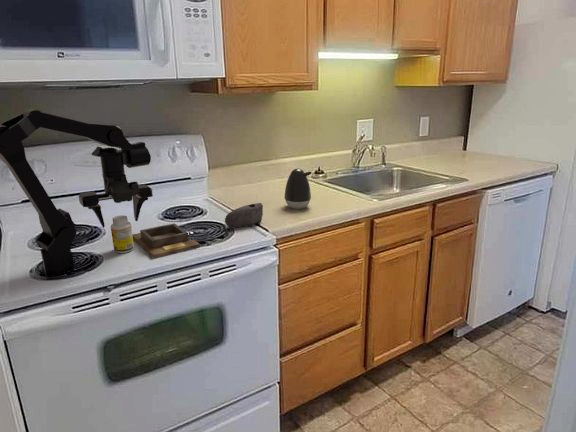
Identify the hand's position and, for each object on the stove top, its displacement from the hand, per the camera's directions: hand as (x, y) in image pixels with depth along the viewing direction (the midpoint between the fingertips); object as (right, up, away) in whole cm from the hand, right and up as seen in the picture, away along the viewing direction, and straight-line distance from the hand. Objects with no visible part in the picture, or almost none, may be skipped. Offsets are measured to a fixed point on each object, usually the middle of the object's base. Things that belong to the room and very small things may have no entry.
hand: (120, 223), depth 124 cm
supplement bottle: (0, -8, +3) cm, 9 cm away
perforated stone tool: (+34, -1, +23) cm, 41 cm away
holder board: (+10, -6, +9) cm, 15 cm away
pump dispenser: (+52, +6, +43) cm, 68 cm away
